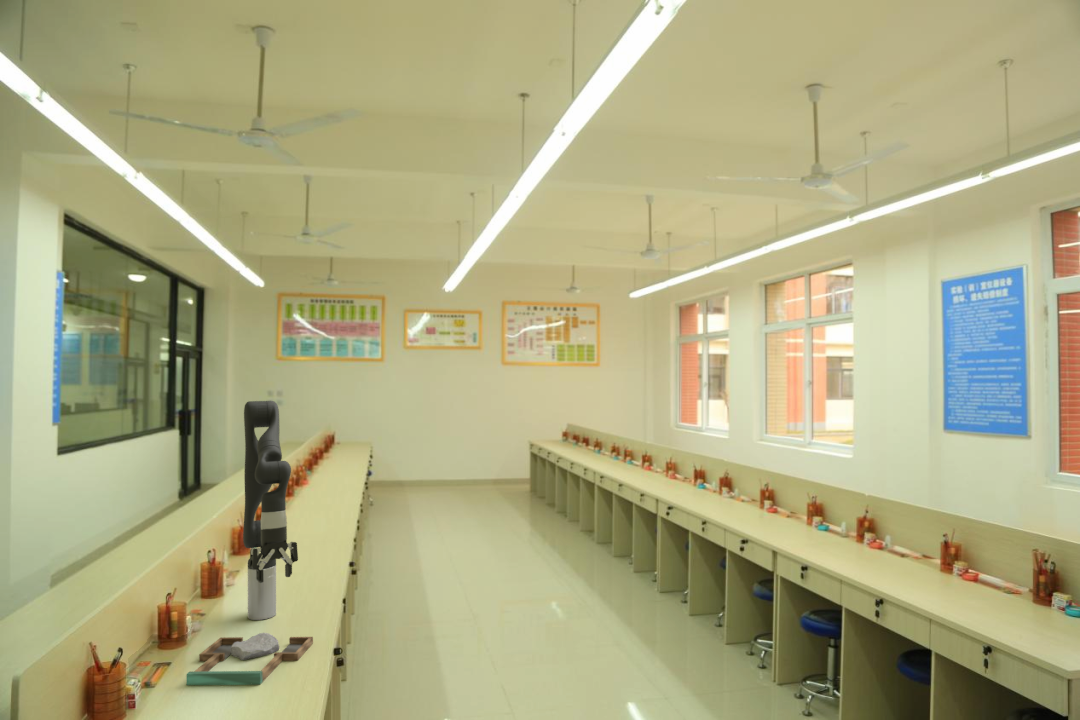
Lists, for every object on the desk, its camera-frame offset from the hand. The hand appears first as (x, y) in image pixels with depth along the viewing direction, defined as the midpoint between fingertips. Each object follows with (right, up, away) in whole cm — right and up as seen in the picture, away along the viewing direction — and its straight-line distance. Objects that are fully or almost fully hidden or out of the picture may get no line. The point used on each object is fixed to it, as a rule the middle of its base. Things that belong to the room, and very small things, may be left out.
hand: (274, 579), depth 208 cm
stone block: (-4, -21, -4) cm, 22 cm away
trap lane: (-4, -21, -11) cm, 24 cm away
